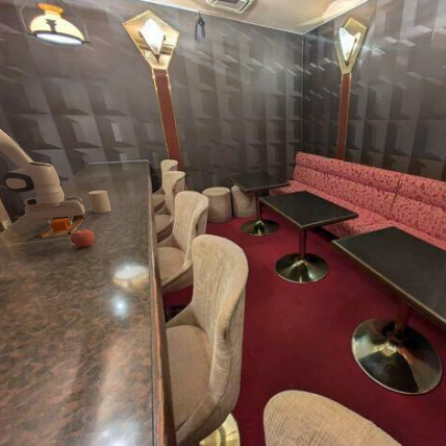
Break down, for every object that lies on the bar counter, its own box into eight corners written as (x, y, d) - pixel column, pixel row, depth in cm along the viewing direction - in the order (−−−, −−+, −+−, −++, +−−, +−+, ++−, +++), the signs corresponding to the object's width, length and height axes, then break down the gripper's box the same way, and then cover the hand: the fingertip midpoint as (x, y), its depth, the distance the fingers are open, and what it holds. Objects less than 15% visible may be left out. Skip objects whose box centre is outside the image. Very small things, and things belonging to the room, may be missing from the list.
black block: (58, 225, 122) (56, 217, 121) (62, 221, 127) (60, 214, 126) (71, 224, 124) (69, 216, 123) (75, 220, 129) (73, 213, 128)
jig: (37, 239, 109) (34, 231, 108) (55, 222, 127) (52, 216, 126) (72, 235, 114) (70, 227, 113) (84, 219, 132) (82, 213, 131)
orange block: (53, 231, 116) (50, 223, 114) (57, 226, 120) (55, 219, 119) (67, 229, 118) (64, 221, 116) (71, 225, 123) (68, 217, 121)
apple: (84, 251, 101) (78, 233, 98) (69, 249, 102) (63, 231, 99) (101, 243, 107) (96, 226, 105) (87, 241, 109) (82, 224, 106)
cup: (90, 213, 142) (84, 193, 138) (104, 209, 149) (98, 189, 145) (101, 214, 140) (96, 194, 136) (114, 210, 148) (110, 191, 143)
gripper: (82, 194, 121) (90, 220, 126) (25, 198, 112) (35, 226, 117) (78, 197, 116) (87, 224, 121) (18, 201, 107) (30, 231, 112)
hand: (61, 225), depth 119 cm, fingers closed on orange block, 5 cm apart
